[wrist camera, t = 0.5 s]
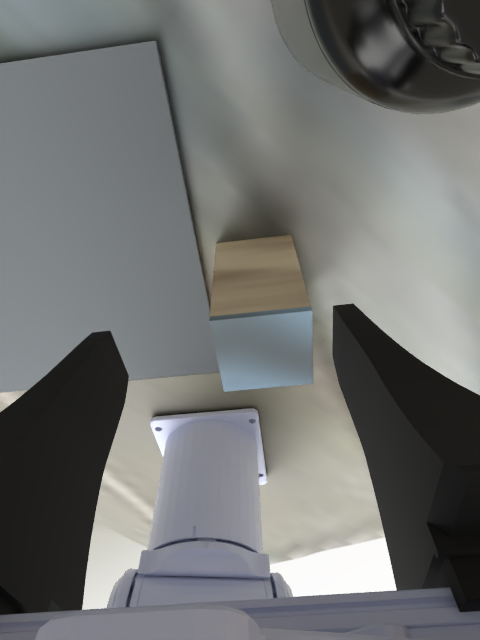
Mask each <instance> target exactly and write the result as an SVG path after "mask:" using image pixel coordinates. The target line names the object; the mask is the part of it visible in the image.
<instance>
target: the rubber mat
mask: <svg viewBox="0 0 480 640" xmlns="http://www.w3.org/2000/svg"><path fill="white" fill-rule="evenodd" d="M209 319H210V304H209V299H208V294H207V289H206V284H205V279H204V274H203V269H202V264H201V259H200V254H199V249H198V244H197V239H196V234H195V229H194V224H193V219H192V214H191V209H190V204H189V199H188V194H187V189H186V183H185V178H184V173H183V168H182V163H181V158H180V153H179V148H178V143H177V138H176V133H175V128H174V123H173V118H172V113H171V108H170V103H169V98H168V93H167V88H166V83H165V78H164V73H163V68H162V63H161V58H160V53H159V48H158V43H157V40H156V41H149V42H142V43H135V44H129V45H122V46H115V47H108V48H101V49H95V50H88V51H81V52H74V53H68V54H61V55H54V56H47V57H41V58H34V59H27V60H20V61H14V62H7V63H0V393H1V392H12V391H23V390H29V389H30V388H31V387H33V386H34V385H35V384H36V383H37V382H38V381H40V380H41V379H42V378H43V377H44V376H45V375H46V374H48V373H49V372H50V371H51V370H52V369H53V368H54V367H55V366H56V365H57V364H58V363H59V362H60V361H62V360H63V359H64V358H65V357H66V356H67V355H68V354H69V353H70V352H71V351H72V350H73V349H74V348H75V347H76V346H77V345H79V344H80V343H81V342H82V341H83V340H84V339H85V338H86V337H87V336H89V335H90V334H91V333H92V332H101V331H111V333H112V336H113V338H114V341H115V343H116V346H117V348H118V350H119V353H120V355H121V358H122V360H123V363H124V365H125V368H126V370H127V373H128V375H129V379H128V381H131V380H141V379H152V378H163V377H174V376H185V375H195V374H206V373H217V372H220V370H219V366H218V361H217V356H216V351H215V346H214V341H213V336H212V332H211V327H210V322H209Z"/></svg>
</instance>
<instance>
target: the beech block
mask: <svg viewBox="0 0 480 640" xmlns="http://www.w3.org/2000/svg"><path fill="white" fill-rule="evenodd" d="M209 322H210V327H211V332H212V336H213V341H214V346H215V351H216V356H217V361H218V366H219V370H220V375H221V380H222V385H223V390H224V392H227V391H238V390H249V389H260V388H271V387H283V386H294V385H305V384H313V338H312V308H311V304H310V301H309V297H308V294H307V290H306V286H305V283H304V279H303V275H302V272H301V268H300V265H299V261H298V257H297V254H296V250H295V246H294V243H293V239H292V236H291V235H284V236H275V237H266V238H257V239H249V240H240V241H231V242H222V243H216V253H215V264H214V275H213V286H212V297H211V308H210V319H209Z"/></svg>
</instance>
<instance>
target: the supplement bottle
mask: <svg viewBox="0 0 480 640" xmlns="http://www.w3.org/2000/svg"><path fill="white" fill-rule="evenodd" d="M272 6H273V12H274V16H275V20H276V23H277V26H278V29H279V32H280V34H281V36H282V38H283V40H284V43H285V44H286V46H287V48H288V49H289V51H290V52H291V54H292V55H293V56H294V58H295V59H296V60H297V61H298V62H299V63H300V64H301V65H302V66H303V67H304V68H305V69H306V70H308V71H309V72H310V73H312V74H313V75H315V76H317V77H318V78H320V79H322V80H324V81H326V82H328V83H330V84H332V85H335V86H337V87H339V88H341V89H343V90H345V91H348V92H350V93H352V94H354V95H356V96H359V97H361V98H363V99H365V100H367V101H370V102H372V103H374V104H377V105H379V106H382V107H385V108H388V109H392V110H396V111H400V112H405V113H413V114H435V113H444V112H449V111H454V110H458V109H462V108H465V107H468V106H472V105H474V104H477V103H479V102H480V0H272Z"/></svg>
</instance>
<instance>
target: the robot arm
mask: <svg viewBox="0 0 480 640" xmlns="http://www.w3.org/2000/svg"><path fill="white" fill-rule="evenodd" d="M333 359H334V364H335V368H336V373H337V377H338V381H339V384H340V387H341V390H342V392H343V395H344V398H345V401H346V403H347V406H348V409H349V411H350V414H351V417H352V419H353V422H354V425H355V427H356V430H357V433H358V436H359V438H360V441H361V444H362V447H363V450H364V453H365V457H366V460H367V464H368V468H369V472H370V476H371V480H372V484H373V488H374V492H375V496H376V500H377V504H378V508H379V512H380V516H381V521H382V525H383V529H384V534H385V538H386V542H387V547H388V551H389V556H390V560H391V565H392V569H393V574H394V579H395V584H396V588H397V591H384V592H368V593H367V592H366V593H350V594H334V595H319V596H302V597H293V595H292V592H291V589H290V587H289V586H288V584H287V583H286V582H285V581H284V579H283V577H282V576H281V575H280V574H279V573H270V564H269V555H268V554H263V549H262V530H261V510H260V491H259V485H264V484H266V483H267V474H266V467H265V459H264V452H263V445H262V437H261V430H260V423H259V416H258V411H257V410H256V409H252V408H250V409H238V410H227V411H215V412H203V413H192V414H180V415H169V416H157V417H153V418H152V419H151V421H150V426H151V428H152V431H153V433H154V436H155V438H156V441H157V443H158V446H159V448H160V451H161V453H162V456H163V462H162V468H161V473H160V479H159V485H158V491H157V497H156V503H155V509H154V514H153V520H152V526H151V532H150V538H149V544H148V550H143V551H142V552H141V557H140V563H139V568H138V569H128V570H127V571H126V572H125V573H124V575H123V576H122V577H121V578H120V579H119V580H118V581H117V582H116V583H115V585H114V587H113V590H112V592H111V595H110V598H109V601H108V605H107V608H106V609H90V610H82V604H83V595H84V586H85V577H86V569H87V562H88V555H89V548H90V540H91V535H92V529H93V523H94V517H95V511H96V506H97V501H98V496H99V491H100V486H101V481H102V476H103V472H104V469H105V465H106V461H107V458H108V455H109V452H110V449H111V446H112V443H113V439H114V436H115V433H116V430H117V427H118V424H119V420H120V417H121V414H122V410H123V407H124V404H125V398H126V392H127V386H128V379H129V375H128V373H127V370H126V368H125V365H124V363H123V360H122V358H121V355H120V353H119V350H118V348H117V346H116V343H115V341H114V338H113V336H112V333H111V331H101V332H92V333H91V334H90V335H89V336H87V337H86V338H85V339H84V340H83V341H82V342H81V343H80V344H79V345H77V346H76V347H75V348H74V349H73V350H72V351H71V352H70V353H69V354H68V355H67V356H66V357H65V358H64V359H63V360H62V361H60V362H59V363H58V364H57V365H56V366H55V367H54V368H53V369H52V370H51V371H50V372H49V373H48V374H46V375H45V376H44V377H43V378H42V379H41V380H40V381H38V382H37V383H36V384H35V385H34V386H33V387H31V388H30V389H29V390H28V391H27V392H26V393H24V394H23V395H22V396H21V397H20V398H18V399H17V400H16V401H15V402H13V403H12V404H11V405H10V406H8V407H7V408H6V409H4V410H3V411H1V412H0V640H480V395H478V394H476V393H474V392H472V391H470V390H468V389H466V388H464V387H463V386H461V385H459V384H457V383H455V382H453V381H452V380H450V379H448V378H447V377H445V376H443V375H442V374H440V373H439V372H437V371H435V370H434V369H432V368H431V367H429V366H427V365H426V364H424V363H423V362H421V361H420V360H419V359H417V358H416V357H414V356H413V355H412V354H410V353H409V352H408V351H406V350H405V349H404V348H403V347H401V346H400V345H399V344H398V343H396V342H395V341H394V340H393V339H392V338H390V337H389V336H388V335H387V334H386V333H384V332H383V331H382V330H381V329H380V328H379V327H378V326H377V325H376V324H374V323H373V322H372V321H371V320H370V319H369V318H368V317H367V316H366V315H365V314H364V313H363V312H362V311H361V310H360V309H358V308H357V307H356V306H355V305H354V304H345V305H336V306H333Z"/></svg>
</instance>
